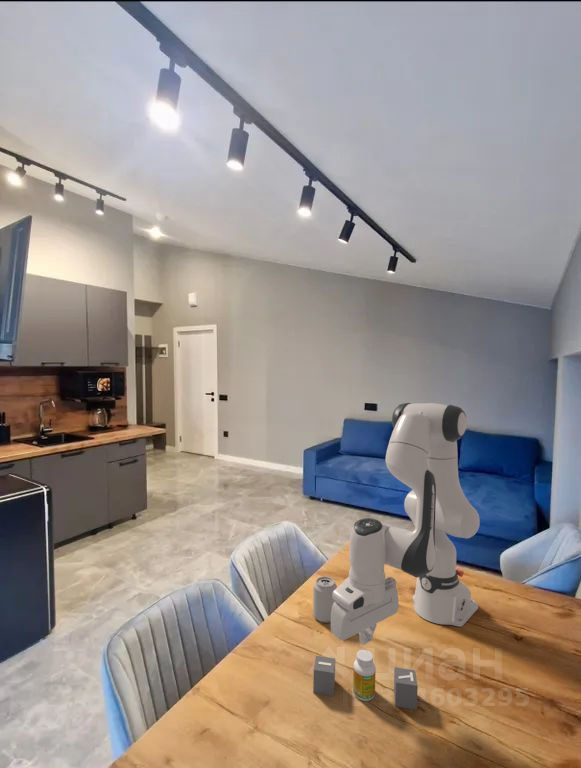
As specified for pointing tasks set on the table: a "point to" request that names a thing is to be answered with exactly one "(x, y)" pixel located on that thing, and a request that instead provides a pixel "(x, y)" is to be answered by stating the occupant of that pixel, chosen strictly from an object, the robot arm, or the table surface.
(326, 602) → the can
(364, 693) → the supplement bottle
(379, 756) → the table surface
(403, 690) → the letter t block
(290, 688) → the table surface
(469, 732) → the table surface
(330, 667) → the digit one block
